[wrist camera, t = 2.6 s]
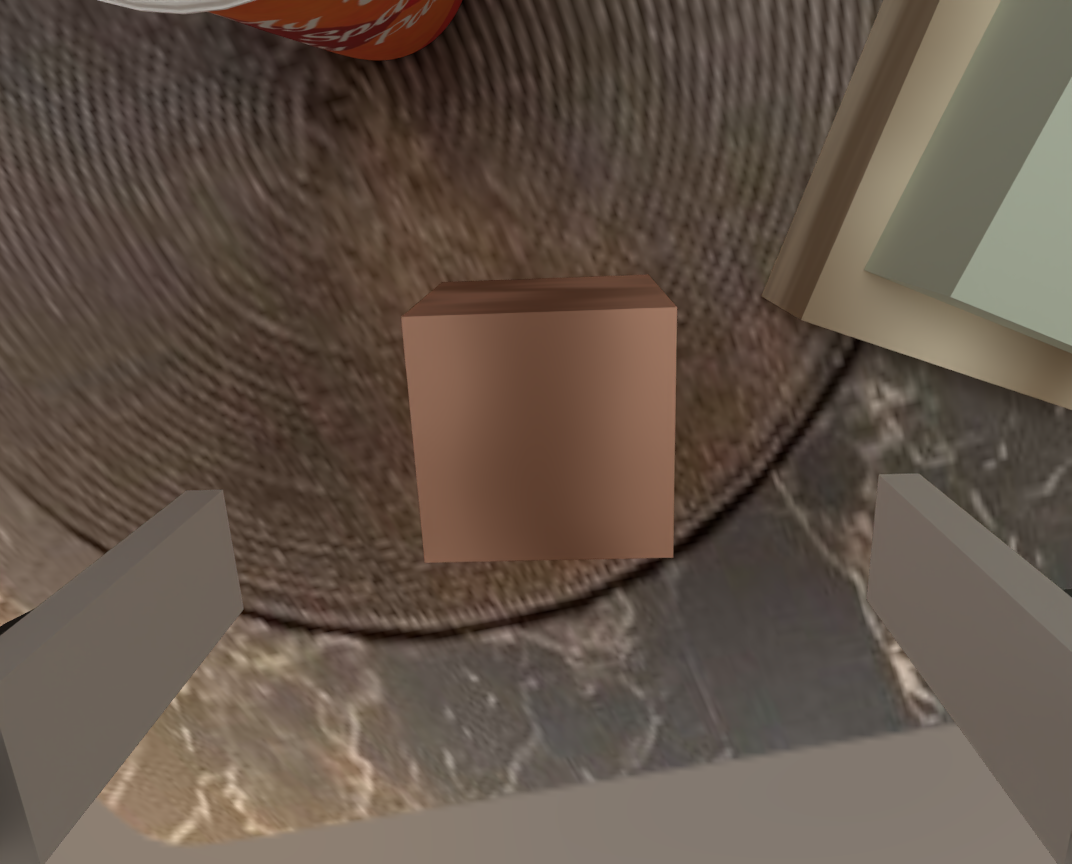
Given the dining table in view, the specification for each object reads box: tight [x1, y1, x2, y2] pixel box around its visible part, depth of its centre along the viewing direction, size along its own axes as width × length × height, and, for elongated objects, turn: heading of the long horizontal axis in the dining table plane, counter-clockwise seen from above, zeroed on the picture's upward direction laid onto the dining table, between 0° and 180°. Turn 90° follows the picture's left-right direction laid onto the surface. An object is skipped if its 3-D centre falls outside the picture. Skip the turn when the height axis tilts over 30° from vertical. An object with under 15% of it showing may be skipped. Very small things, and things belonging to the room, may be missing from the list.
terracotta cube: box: [401, 275, 677, 563], centre depth 24 cm, size 7×7×7 cm
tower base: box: [762, 0, 1072, 410], centre depth 23 cm, size 12×12×5 cm
